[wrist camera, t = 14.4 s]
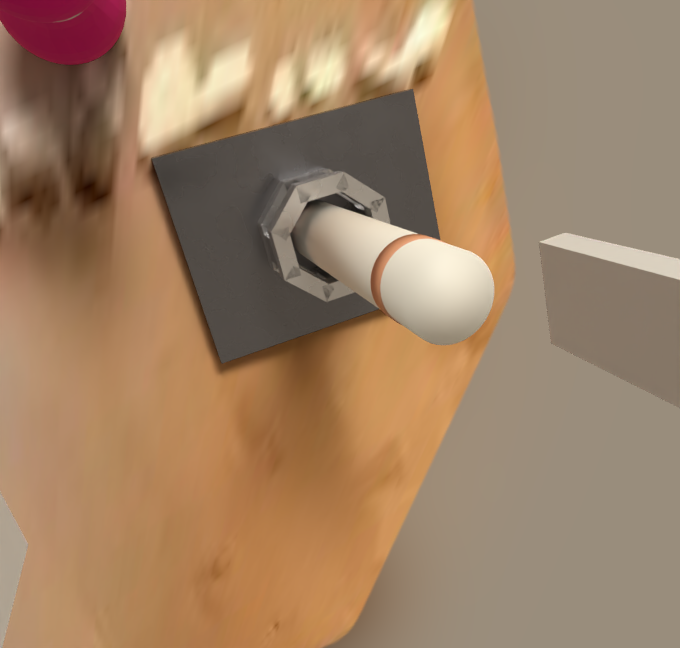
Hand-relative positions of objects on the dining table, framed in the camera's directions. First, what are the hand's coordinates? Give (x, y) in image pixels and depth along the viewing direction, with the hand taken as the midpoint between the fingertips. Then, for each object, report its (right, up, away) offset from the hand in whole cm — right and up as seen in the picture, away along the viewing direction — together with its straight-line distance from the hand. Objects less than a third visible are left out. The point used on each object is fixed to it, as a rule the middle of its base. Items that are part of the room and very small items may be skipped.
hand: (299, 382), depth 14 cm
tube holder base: (-1, +9, +35) cm, 36 cm away
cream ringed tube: (-1, +9, +34) cm, 35 cm away
